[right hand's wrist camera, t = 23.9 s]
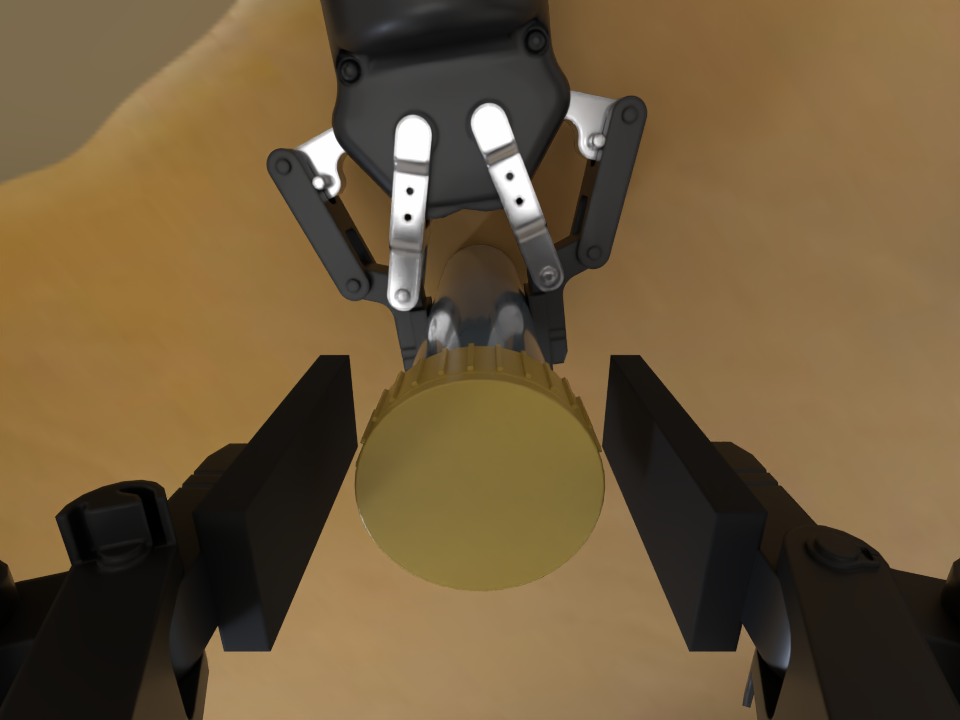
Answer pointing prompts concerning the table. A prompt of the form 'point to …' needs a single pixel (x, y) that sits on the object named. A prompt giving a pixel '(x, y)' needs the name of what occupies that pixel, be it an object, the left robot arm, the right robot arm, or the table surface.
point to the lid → (479, 470)
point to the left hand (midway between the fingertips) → (489, 377)
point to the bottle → (479, 306)
